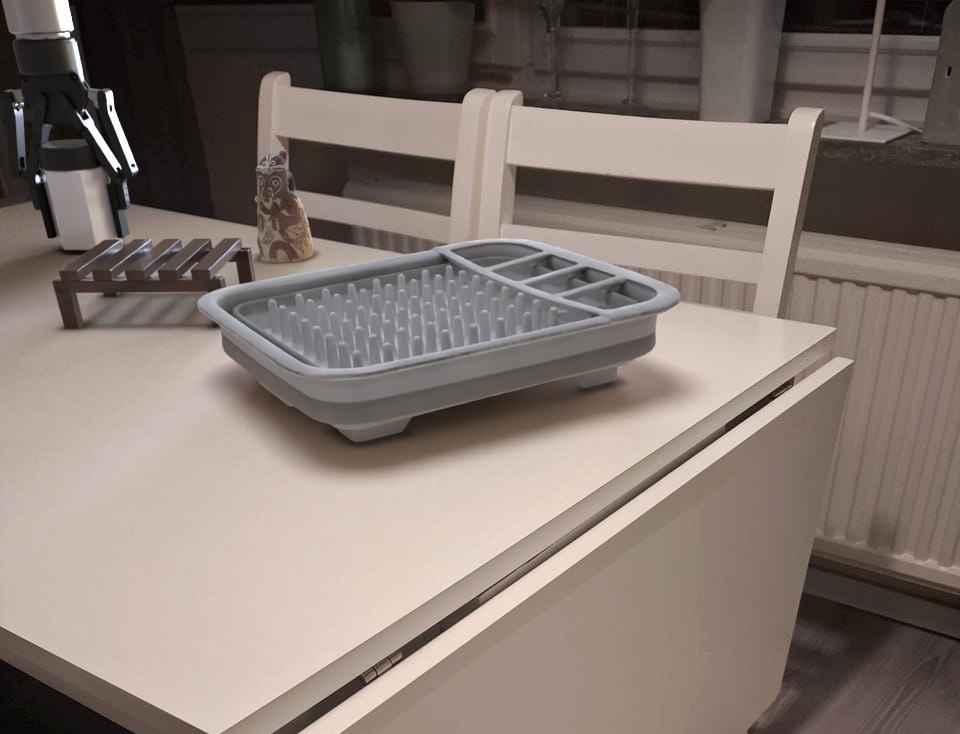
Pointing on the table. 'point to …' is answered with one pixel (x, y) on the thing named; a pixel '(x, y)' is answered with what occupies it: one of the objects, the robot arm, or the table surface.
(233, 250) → the rack
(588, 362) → the dish rack
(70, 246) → the jar
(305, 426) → the table surface
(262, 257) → the figurine
